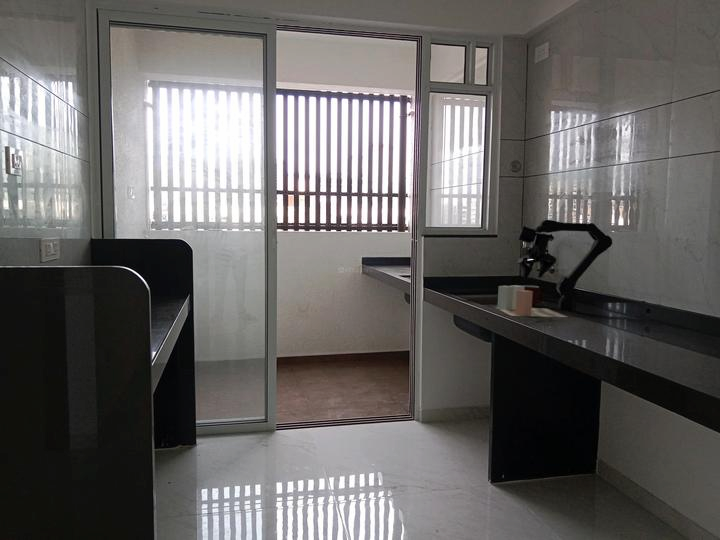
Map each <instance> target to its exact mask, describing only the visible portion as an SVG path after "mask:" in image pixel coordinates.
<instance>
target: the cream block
mask: <svg viewBox="0 0 720 540" xmlns="http://www.w3.org/2000/svg"><path fill="white" fill-rule="evenodd" d="M510 286H511V287H514V288H513V304H512V309H516V296H517V290H524V288H525V286H523V285H518V284H517V285H516V284H514V285H510Z"/></svg>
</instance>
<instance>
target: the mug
mask: <svg viewBox="0 0 720 540" xmlns="http://www.w3.org/2000/svg"><path fill="white" fill-rule="evenodd" d="M522 286H525V288H524V290H527V291H533V294H532V307H535V306H536V305H537V304H541V303H543V302H544V301H545V294H544V293H543V292H541V291H540V286H537V285H525V284H524V285H522ZM540 295H541V300H539V301H538V299H539V296H540Z"/></svg>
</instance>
